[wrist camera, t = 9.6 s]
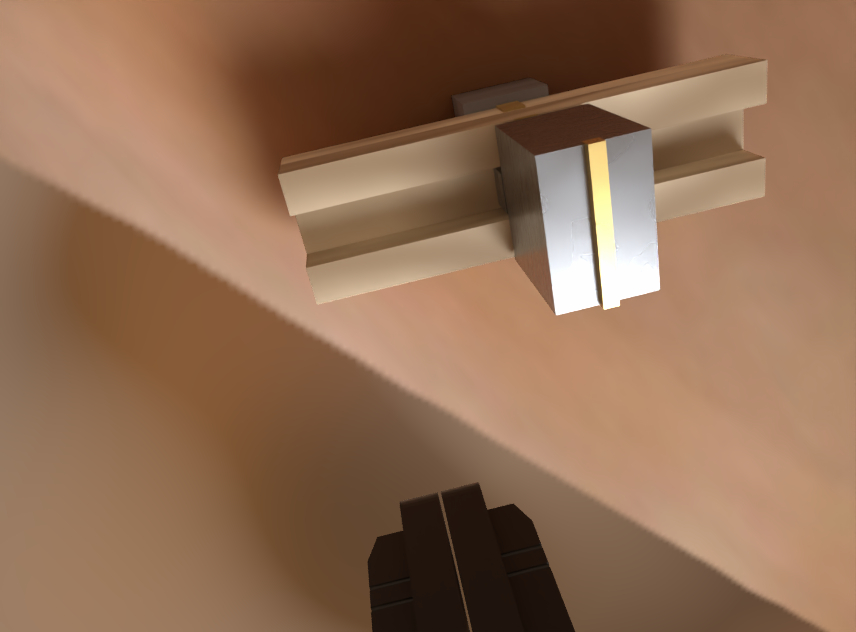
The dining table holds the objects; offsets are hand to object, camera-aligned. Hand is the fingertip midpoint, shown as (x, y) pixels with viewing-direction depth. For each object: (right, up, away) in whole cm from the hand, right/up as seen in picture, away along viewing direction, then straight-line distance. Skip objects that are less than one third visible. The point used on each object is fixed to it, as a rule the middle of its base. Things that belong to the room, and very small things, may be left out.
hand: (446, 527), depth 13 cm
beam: (+3, +12, +23) cm, 26 cm away
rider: (+5, +10, +18) cm, 21 cm away
